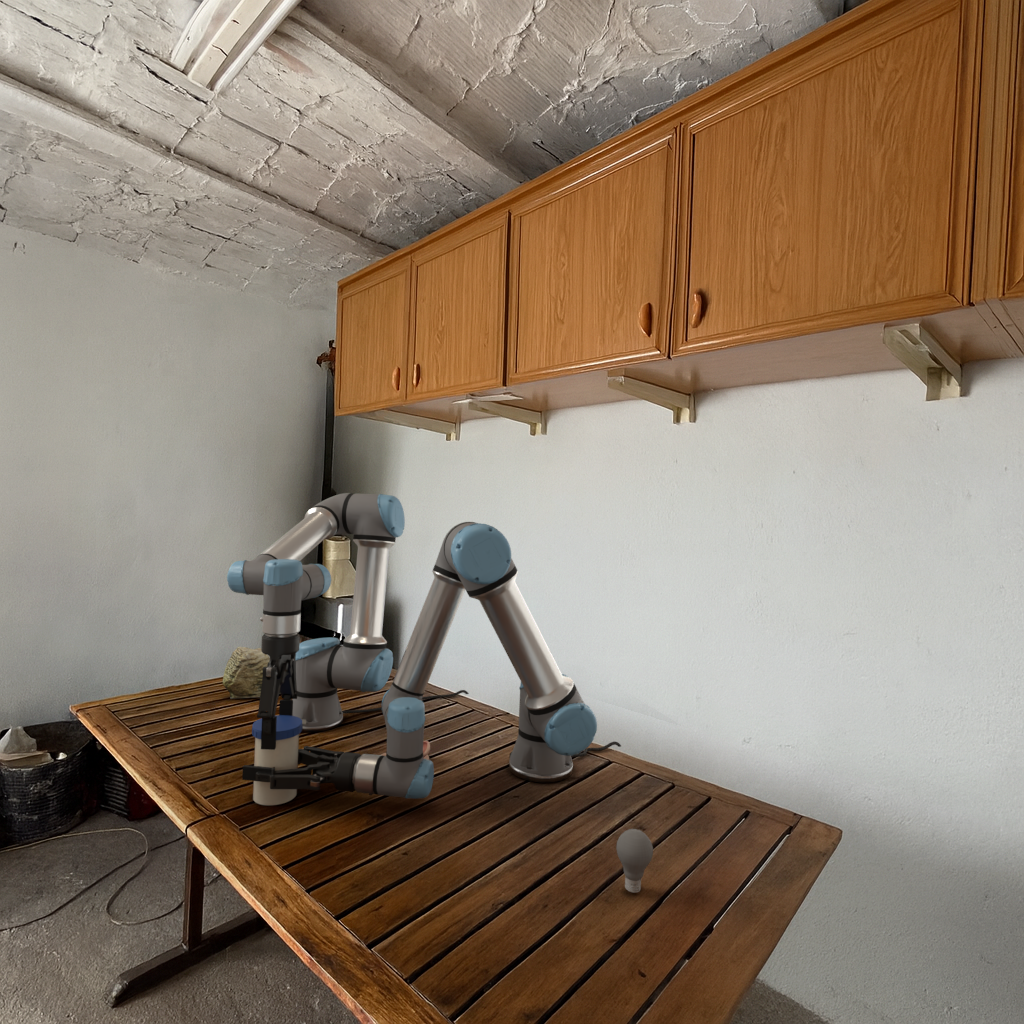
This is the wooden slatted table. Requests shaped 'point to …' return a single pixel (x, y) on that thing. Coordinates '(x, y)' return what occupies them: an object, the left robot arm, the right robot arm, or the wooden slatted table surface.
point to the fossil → (245, 672)
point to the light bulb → (634, 857)
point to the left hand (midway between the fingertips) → (277, 738)
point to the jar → (281, 760)
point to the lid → (281, 727)
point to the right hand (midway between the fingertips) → (255, 762)
